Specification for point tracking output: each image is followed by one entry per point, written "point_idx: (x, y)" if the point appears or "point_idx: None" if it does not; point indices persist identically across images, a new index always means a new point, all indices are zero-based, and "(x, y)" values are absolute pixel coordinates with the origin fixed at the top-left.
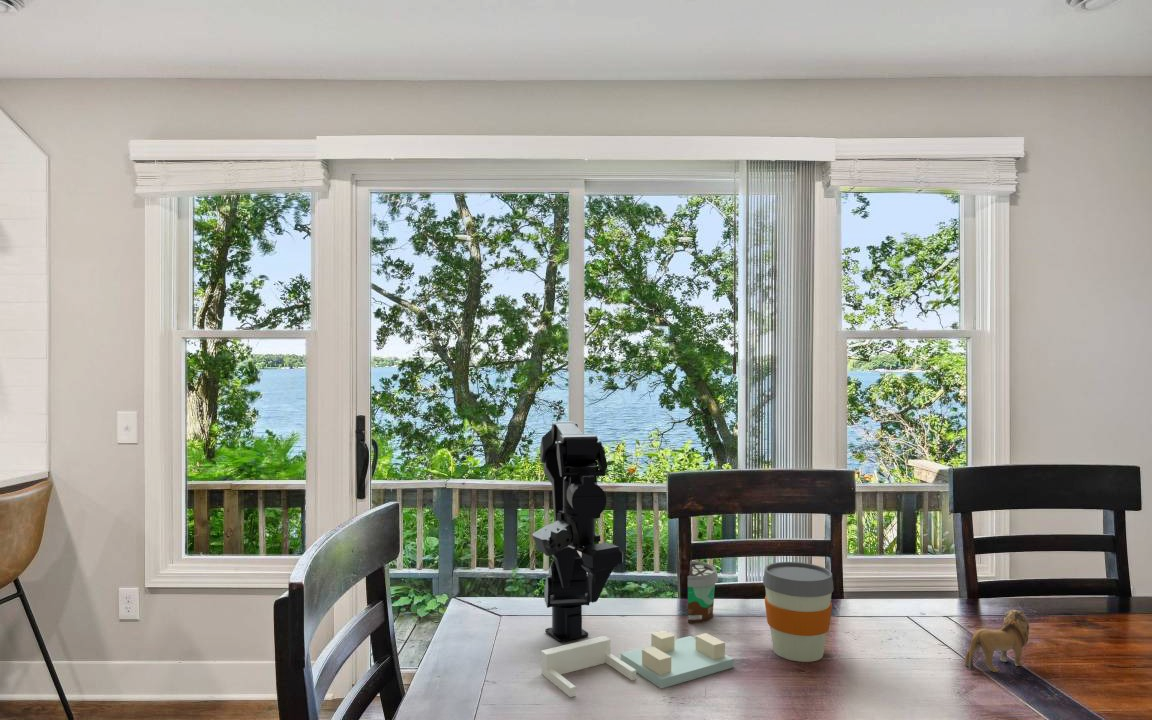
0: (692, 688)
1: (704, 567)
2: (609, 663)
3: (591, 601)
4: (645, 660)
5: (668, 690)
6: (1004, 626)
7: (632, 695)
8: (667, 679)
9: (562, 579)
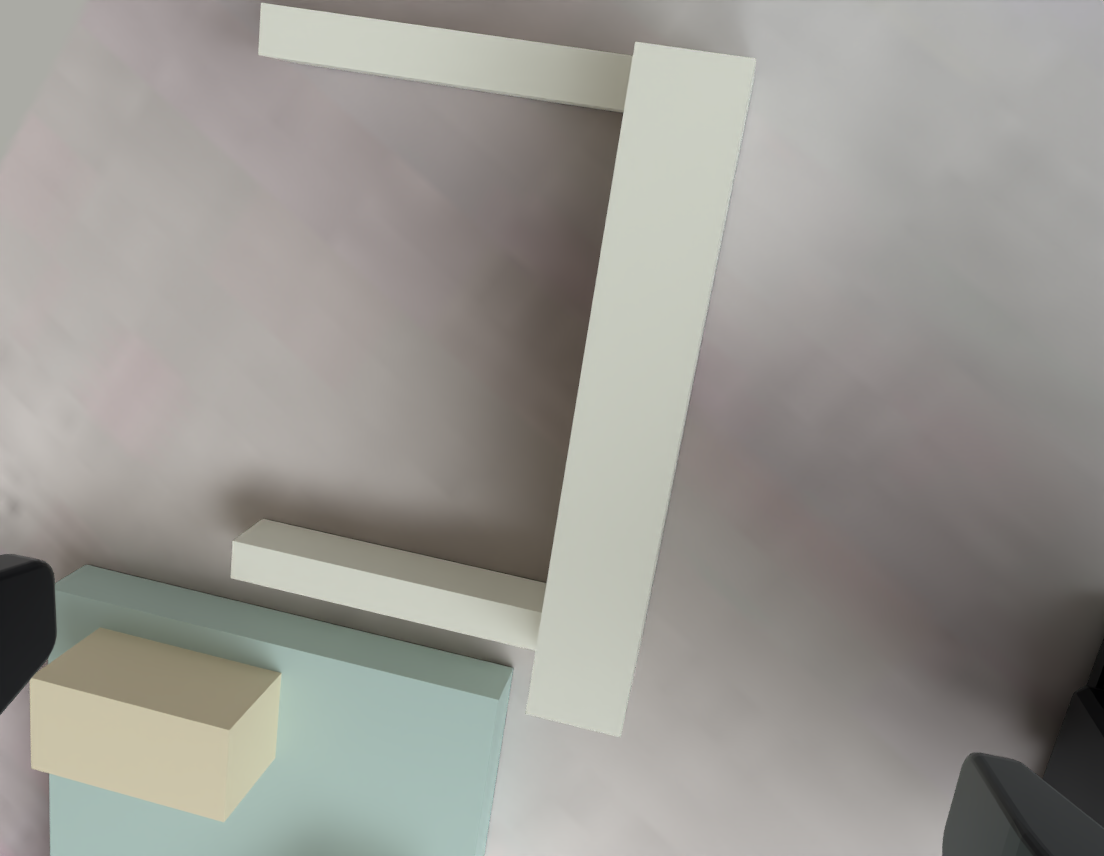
0: None
1: None
2: (517, 582)
3: (11, 554)
4: (223, 683)
5: None
6: None
7: (106, 374)
8: None
9: (1024, 848)
